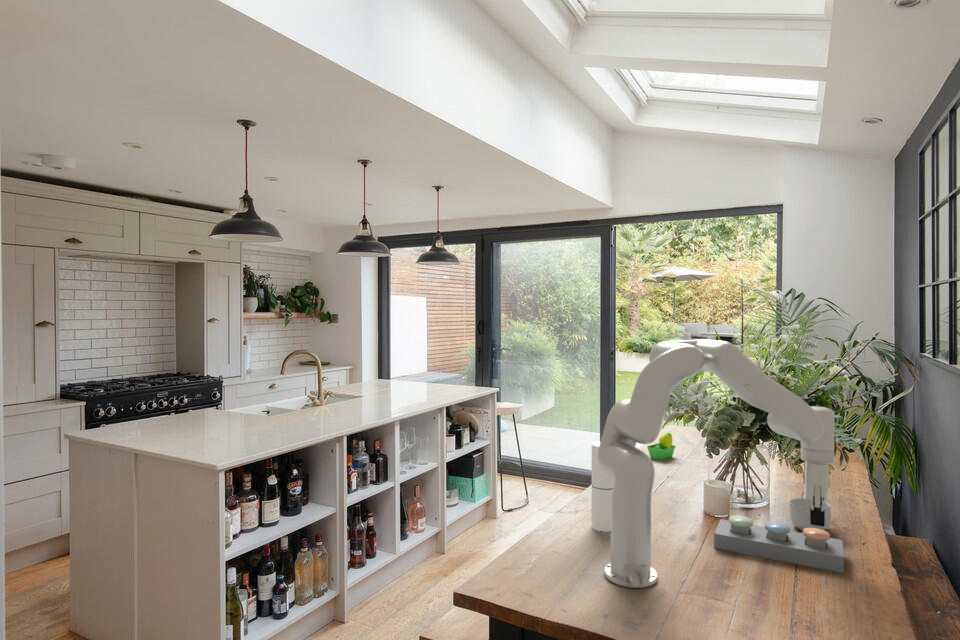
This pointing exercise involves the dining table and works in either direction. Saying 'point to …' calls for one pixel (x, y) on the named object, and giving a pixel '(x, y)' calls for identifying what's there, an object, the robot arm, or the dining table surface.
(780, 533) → the button slate
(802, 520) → the teacup
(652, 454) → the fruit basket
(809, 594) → the dining table surface
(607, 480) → the cylindrical container
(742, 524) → the button sage
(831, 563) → the button panel
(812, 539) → the button terracotta
